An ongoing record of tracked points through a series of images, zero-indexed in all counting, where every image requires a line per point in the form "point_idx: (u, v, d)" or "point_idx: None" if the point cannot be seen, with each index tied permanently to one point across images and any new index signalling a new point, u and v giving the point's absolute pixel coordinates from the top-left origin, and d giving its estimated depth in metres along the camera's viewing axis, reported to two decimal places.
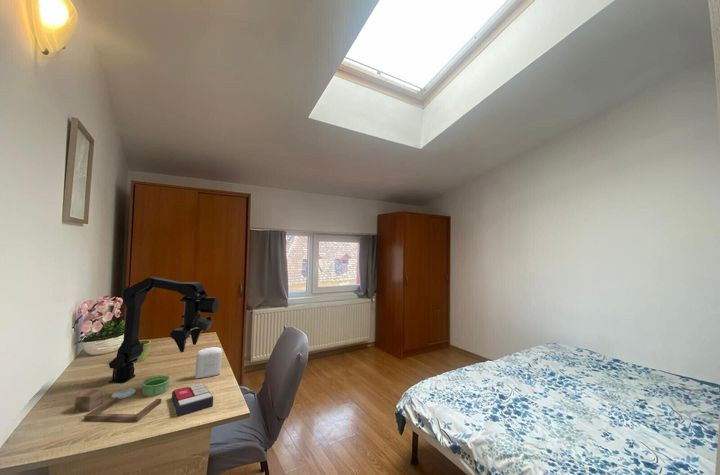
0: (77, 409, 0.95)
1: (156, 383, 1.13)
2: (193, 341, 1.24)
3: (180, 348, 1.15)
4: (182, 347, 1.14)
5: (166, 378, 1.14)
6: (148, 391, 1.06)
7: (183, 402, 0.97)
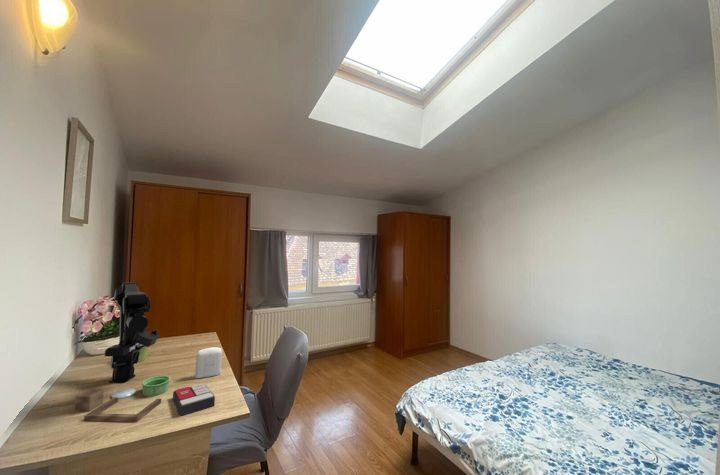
0: (77, 409, 0.95)
1: (156, 383, 1.13)
2: None
3: (127, 362, 1.08)
4: (129, 361, 1.08)
5: (166, 378, 1.14)
6: (148, 391, 1.06)
7: (185, 401, 0.97)
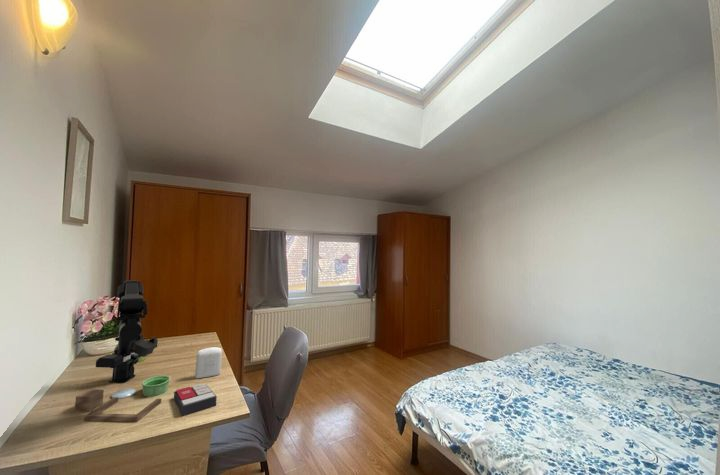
0: (77, 409, 0.95)
1: (156, 383, 1.13)
2: None
3: (122, 374, 0.97)
4: (124, 373, 0.97)
5: (166, 378, 1.14)
6: (148, 391, 1.06)
7: (187, 401, 0.98)
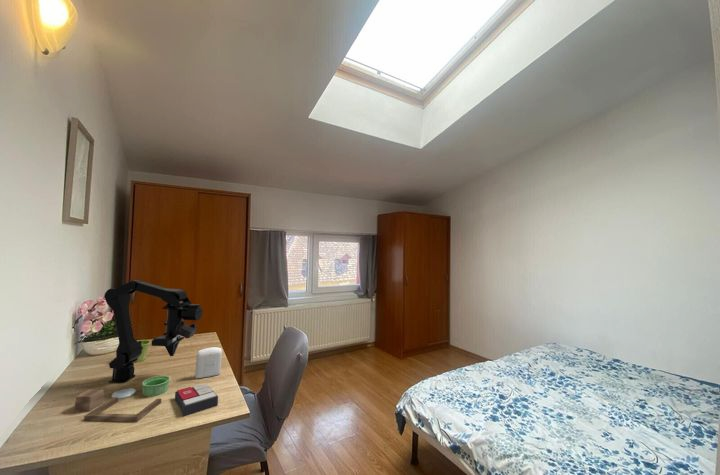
0: (77, 409, 0.95)
1: (156, 383, 1.13)
2: None
3: (169, 352, 1.19)
4: (171, 351, 1.19)
5: (166, 378, 1.14)
6: (148, 391, 1.06)
7: (189, 401, 0.98)
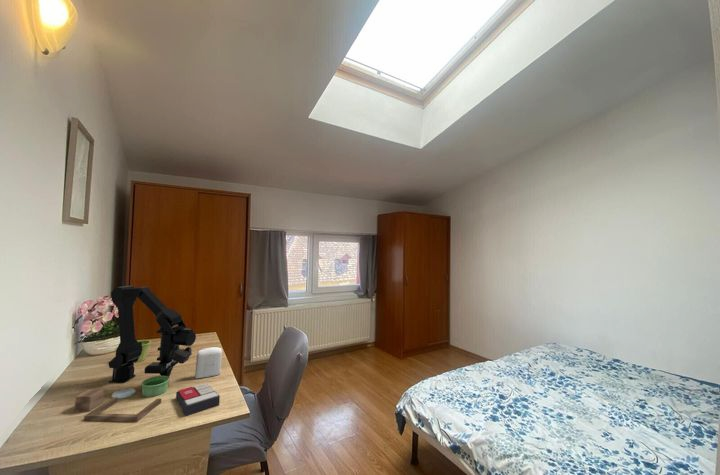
0: (77, 409, 0.95)
1: (155, 383, 1.13)
2: None
3: None
4: None
5: (165, 378, 1.13)
6: (147, 391, 1.06)
7: (190, 401, 0.98)
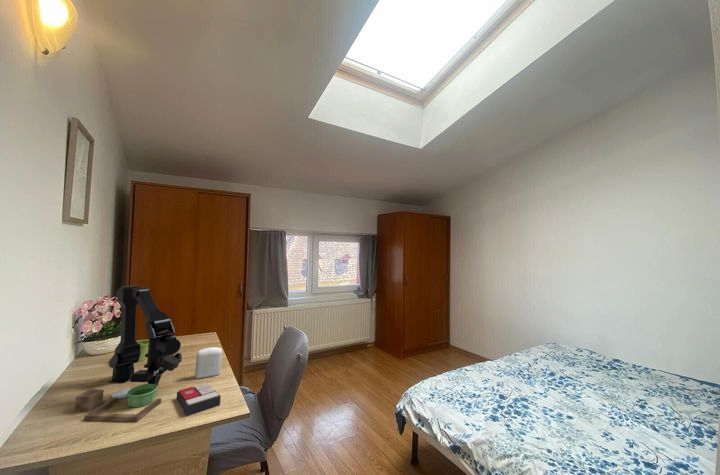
0: (77, 409, 0.95)
1: (142, 392, 1.06)
2: None
3: None
4: None
5: (153, 387, 1.06)
6: (133, 401, 0.99)
7: (191, 401, 0.98)
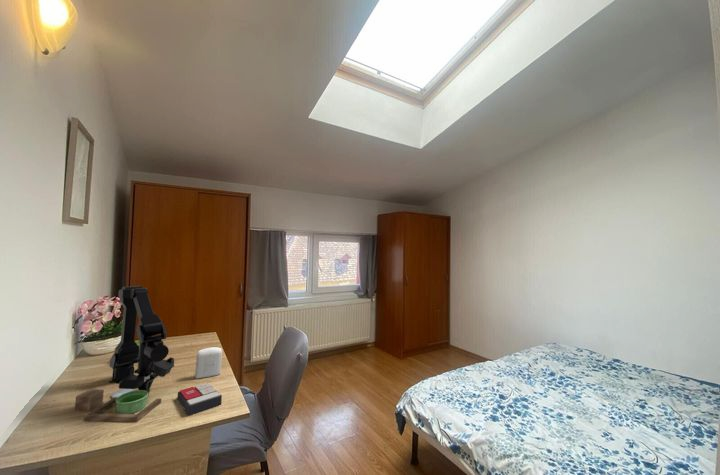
0: (77, 409, 0.95)
1: (132, 399, 1.01)
2: None
3: None
4: None
5: (144, 393, 1.02)
6: (122, 409, 0.94)
7: (193, 401, 0.98)
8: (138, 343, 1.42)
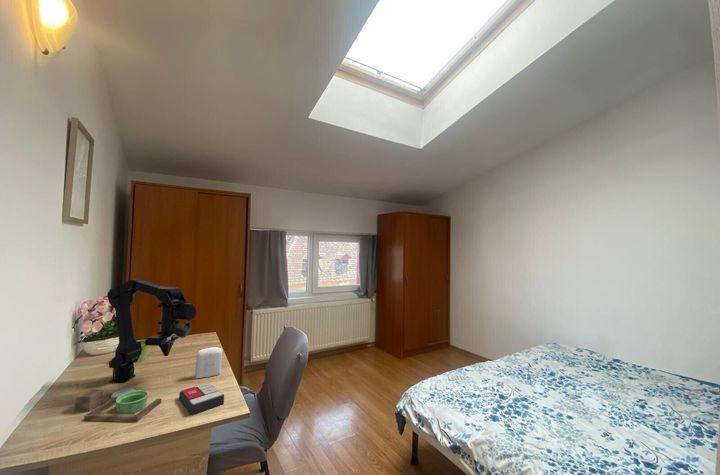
0: (77, 409, 0.95)
1: (132, 399, 1.01)
2: None
3: (164, 352, 1.15)
4: (166, 351, 1.15)
5: (144, 393, 1.02)
6: (122, 409, 0.94)
7: (196, 401, 0.98)
8: None
